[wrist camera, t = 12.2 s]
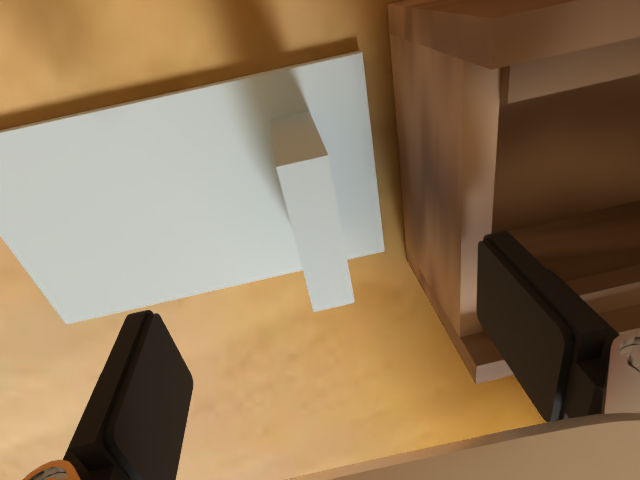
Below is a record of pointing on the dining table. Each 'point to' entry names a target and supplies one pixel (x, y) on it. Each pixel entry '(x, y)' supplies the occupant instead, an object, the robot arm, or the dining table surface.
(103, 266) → the lid
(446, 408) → the dining table surface
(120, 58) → the dining table surface
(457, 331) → the lid box
